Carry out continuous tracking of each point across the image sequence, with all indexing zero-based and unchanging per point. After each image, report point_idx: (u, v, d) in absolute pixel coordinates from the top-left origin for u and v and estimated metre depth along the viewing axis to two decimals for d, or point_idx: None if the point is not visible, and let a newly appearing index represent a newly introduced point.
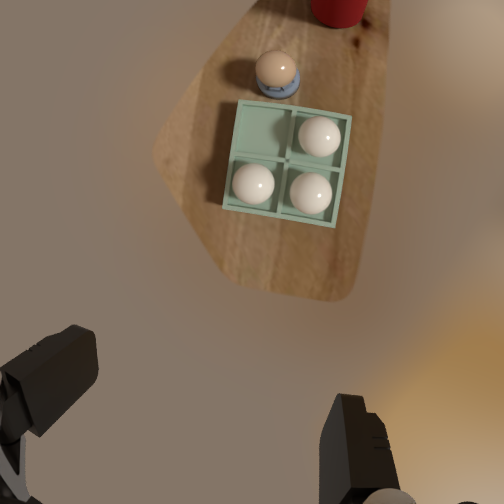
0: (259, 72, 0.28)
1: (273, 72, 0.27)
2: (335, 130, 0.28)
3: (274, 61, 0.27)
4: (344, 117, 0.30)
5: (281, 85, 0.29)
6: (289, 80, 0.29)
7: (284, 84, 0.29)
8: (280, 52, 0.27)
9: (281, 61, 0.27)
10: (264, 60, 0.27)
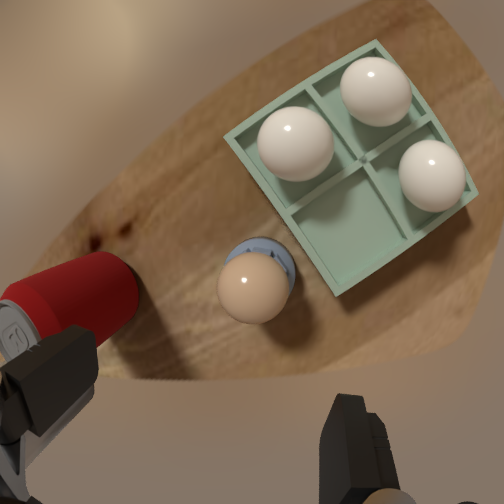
0: (280, 304, 0.18)
1: (263, 286, 0.17)
2: (268, 126, 0.15)
3: (246, 299, 0.17)
4: (234, 143, 0.19)
5: (271, 259, 0.18)
6: (254, 255, 0.18)
7: (266, 256, 0.18)
8: (224, 303, 0.18)
9: (237, 290, 0.17)
10: (256, 314, 0.17)
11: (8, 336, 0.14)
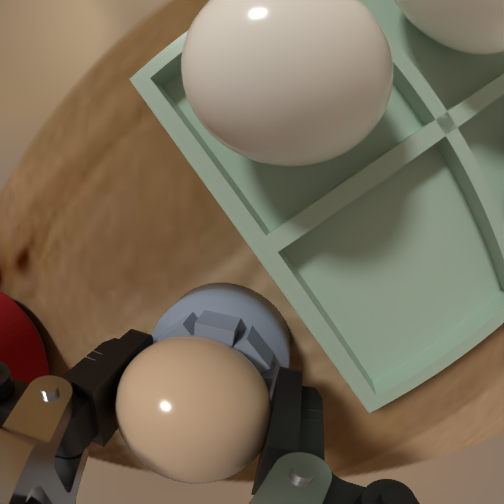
0: (247, 461, 0.07)
1: (201, 443, 0.06)
2: (203, 10, 0.04)
3: (164, 463, 0.06)
4: (150, 88, 0.07)
5: (227, 363, 0.07)
6: (183, 358, 0.07)
7: (214, 358, 0.07)
8: (128, 447, 0.07)
9: (142, 442, 0.06)
10: (193, 482, 0.06)
11: None
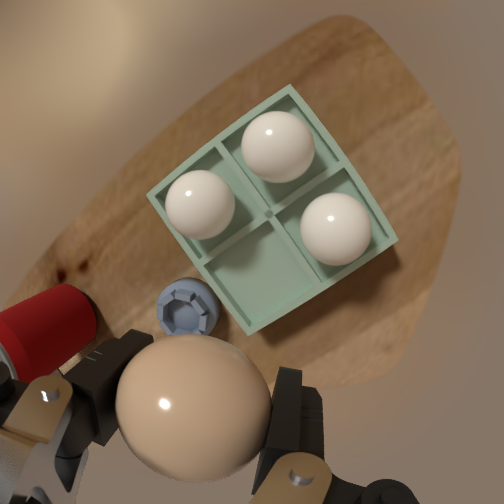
0: (248, 460, 0.07)
1: (201, 441, 0.06)
2: (169, 194, 0.18)
3: (164, 462, 0.06)
4: (155, 200, 0.21)
5: (227, 362, 0.07)
6: (183, 356, 0.07)
7: (215, 356, 0.07)
8: (128, 446, 0.07)
9: (142, 441, 0.06)
10: (193, 481, 0.06)
11: None
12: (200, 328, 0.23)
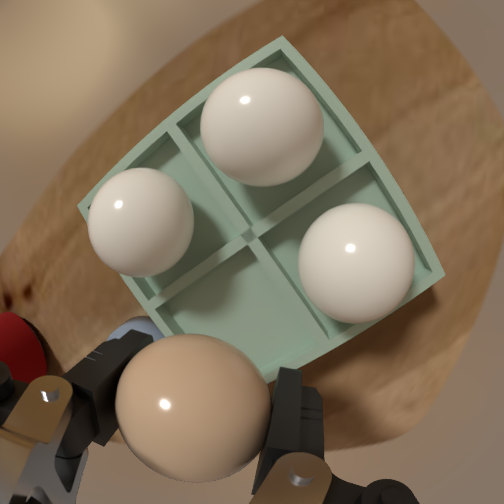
0: (248, 459, 0.07)
1: (201, 441, 0.06)
2: (90, 207, 0.11)
3: (164, 462, 0.06)
4: None
5: (227, 362, 0.07)
6: (183, 356, 0.07)
7: (214, 356, 0.07)
8: (128, 446, 0.07)
9: (142, 441, 0.06)
10: (193, 481, 0.06)
11: None
12: None
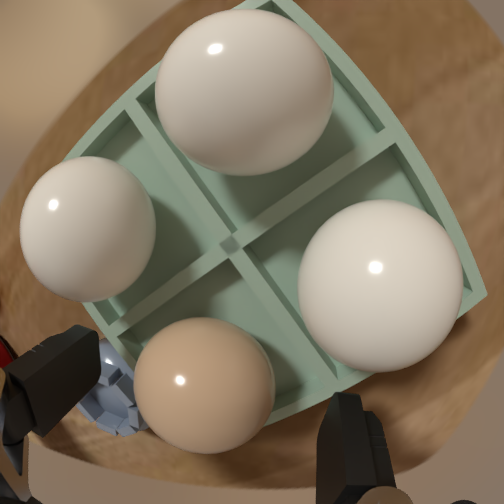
0: (254, 430, 0.08)
1: (214, 409, 0.07)
2: (22, 211, 0.07)
3: (180, 431, 0.07)
4: None
5: (236, 339, 0.08)
6: (198, 334, 0.08)
7: (225, 334, 0.08)
8: (145, 421, 0.08)
9: (161, 411, 0.07)
10: (205, 450, 0.07)
11: None
12: (131, 423, 0.12)
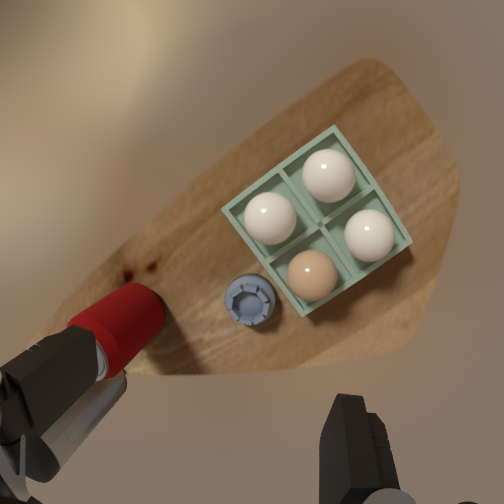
0: (332, 286, 0.25)
1: (323, 273, 0.24)
2: (249, 211, 0.24)
3: (312, 283, 0.24)
4: (228, 213, 0.28)
5: (325, 254, 0.26)
6: (314, 252, 0.25)
7: (322, 252, 0.26)
8: (294, 287, 0.25)
9: (305, 277, 0.24)
10: (317, 293, 0.25)
11: None
12: (263, 313, 0.30)
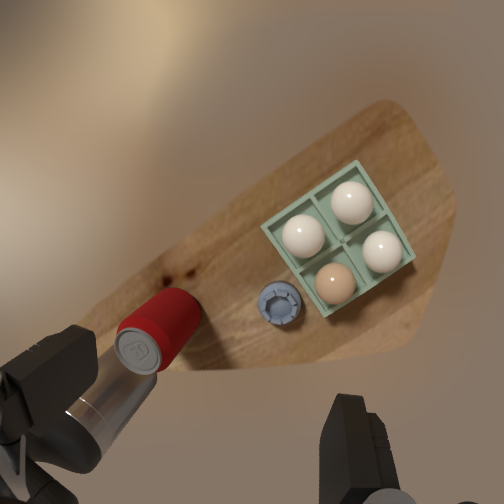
0: (352, 292, 0.31)
1: (345, 282, 0.30)
2: (288, 230, 0.30)
3: (336, 290, 0.30)
4: (267, 230, 0.33)
5: (346, 267, 0.31)
6: (338, 265, 0.31)
7: (344, 265, 0.31)
8: (322, 293, 0.31)
9: (331, 285, 0.30)
10: (340, 298, 0.30)
11: (129, 349, 0.29)
12: (292, 314, 0.35)
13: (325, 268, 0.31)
